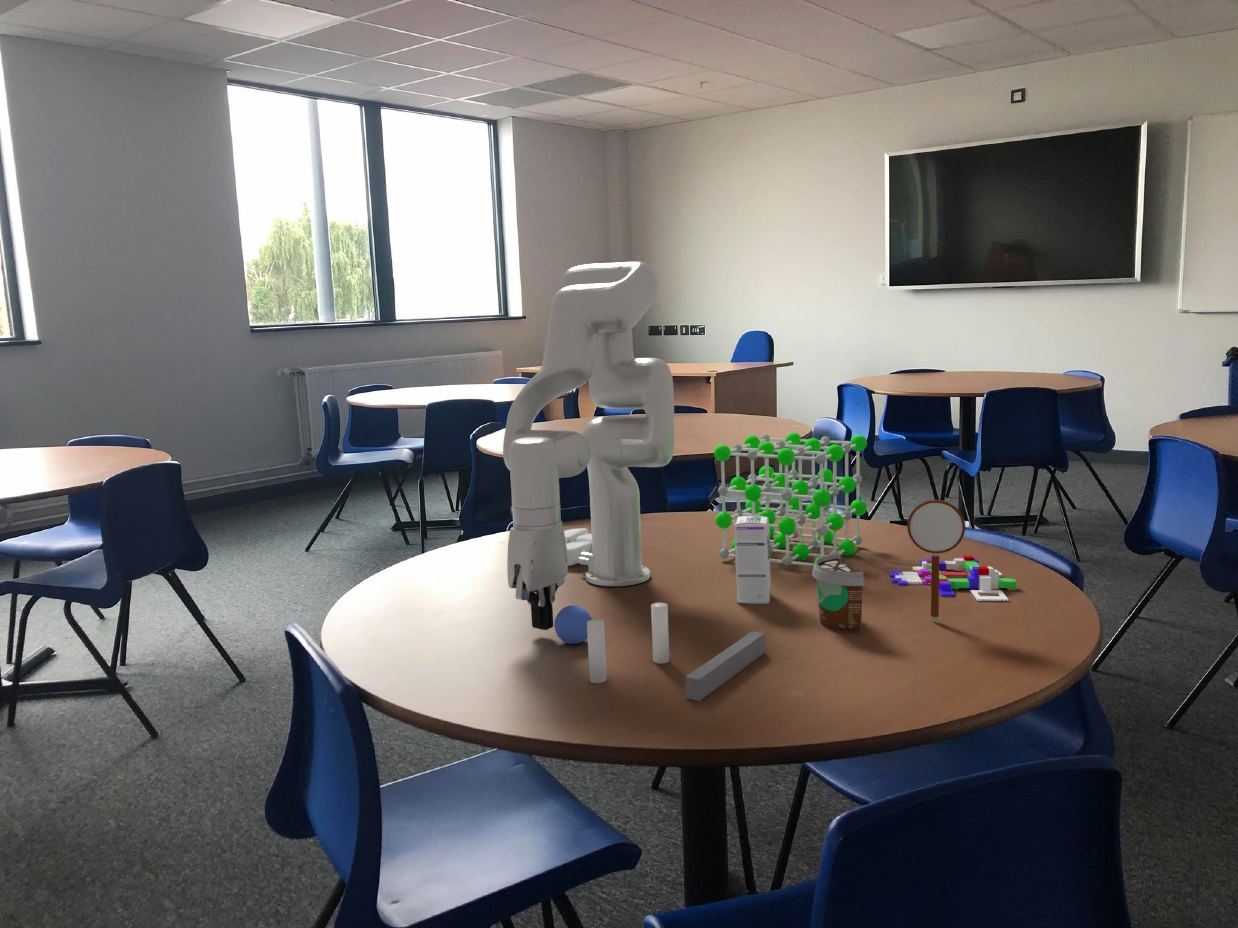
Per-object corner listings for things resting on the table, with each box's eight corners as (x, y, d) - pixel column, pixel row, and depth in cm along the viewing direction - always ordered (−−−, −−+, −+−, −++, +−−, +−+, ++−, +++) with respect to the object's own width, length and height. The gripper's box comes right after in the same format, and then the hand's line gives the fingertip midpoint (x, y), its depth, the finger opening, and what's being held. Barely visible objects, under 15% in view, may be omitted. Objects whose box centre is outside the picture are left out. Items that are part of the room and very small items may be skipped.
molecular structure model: (869, 546, 197) (869, 433, 194) (828, 576, 177) (827, 450, 173) (763, 535, 210) (761, 429, 206) (713, 562, 190) (710, 445, 186)
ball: (547, 645, 146) (545, 608, 145) (570, 633, 151) (568, 598, 150) (578, 652, 142) (576, 614, 141) (600, 639, 147) (599, 603, 146)
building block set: (883, 565, 185) (883, 543, 184) (991, 565, 182) (992, 543, 181) (901, 604, 161) (901, 579, 160) (1026, 605, 157) (1027, 580, 157)
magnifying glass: (963, 622, 149) (965, 499, 145) (963, 625, 147) (965, 501, 144) (906, 618, 151) (907, 498, 148) (906, 621, 150) (907, 500, 147)
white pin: (650, 661, 137) (648, 606, 136) (658, 656, 139) (656, 601, 138) (663, 664, 136) (662, 608, 134) (672, 659, 138) (670, 604, 136)
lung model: (511, 563, 196) (577, 546, 217) (579, 573, 187) (641, 555, 209) (511, 532, 196) (577, 518, 217) (579, 541, 187) (641, 526, 208)
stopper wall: (686, 698, 124) (685, 676, 123) (752, 650, 140) (752, 631, 140) (699, 701, 123) (698, 679, 122) (764, 652, 139) (764, 633, 138)
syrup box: (769, 604, 162) (768, 522, 159) (735, 603, 163) (733, 522, 160) (771, 594, 167) (769, 515, 165) (737, 593, 168) (736, 515, 166)
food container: (803, 612, 156) (802, 555, 155) (839, 610, 157) (839, 552, 155) (825, 637, 144) (825, 575, 143) (864, 635, 145) (864, 572, 143)
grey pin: (586, 681, 131) (583, 623, 129) (596, 675, 133) (593, 618, 131) (600, 684, 130) (597, 625, 128) (609, 678, 131) (607, 620, 130)
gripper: (549, 505, 155) (554, 611, 158) (486, 523, 143) (493, 637, 146) (584, 509, 150) (589, 617, 153) (522, 528, 138) (529, 645, 141)
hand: (542, 627), depth 149 cm, fingers closed
